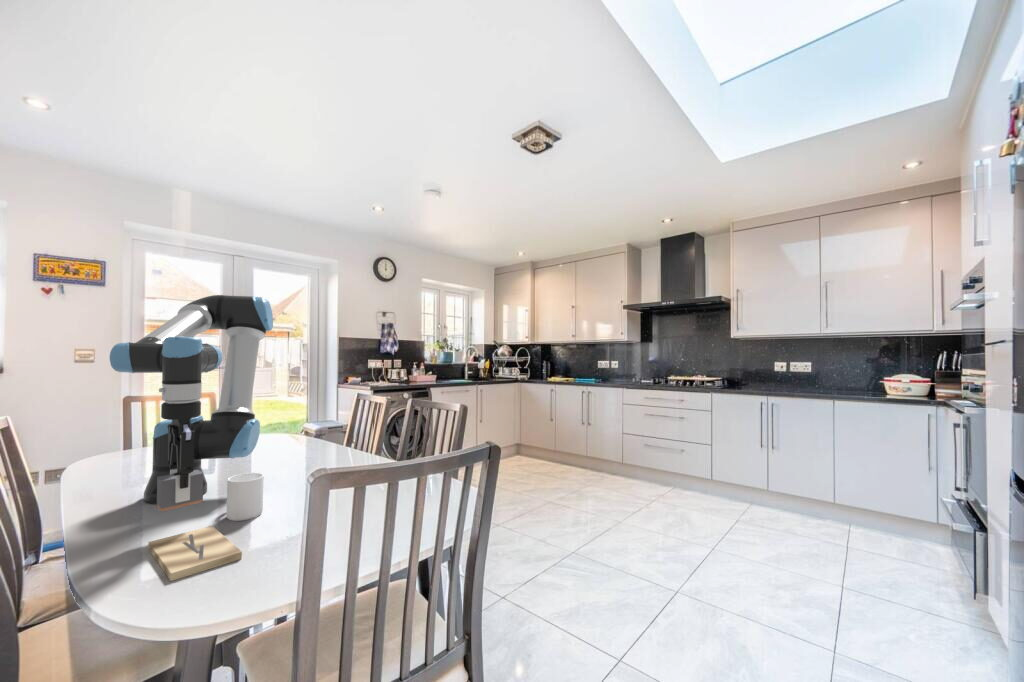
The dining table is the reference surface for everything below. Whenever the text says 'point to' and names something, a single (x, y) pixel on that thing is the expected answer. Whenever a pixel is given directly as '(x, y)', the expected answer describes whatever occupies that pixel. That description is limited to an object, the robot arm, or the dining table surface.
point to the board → (193, 552)
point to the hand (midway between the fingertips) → (179, 498)
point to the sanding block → (168, 491)
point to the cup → (245, 496)
